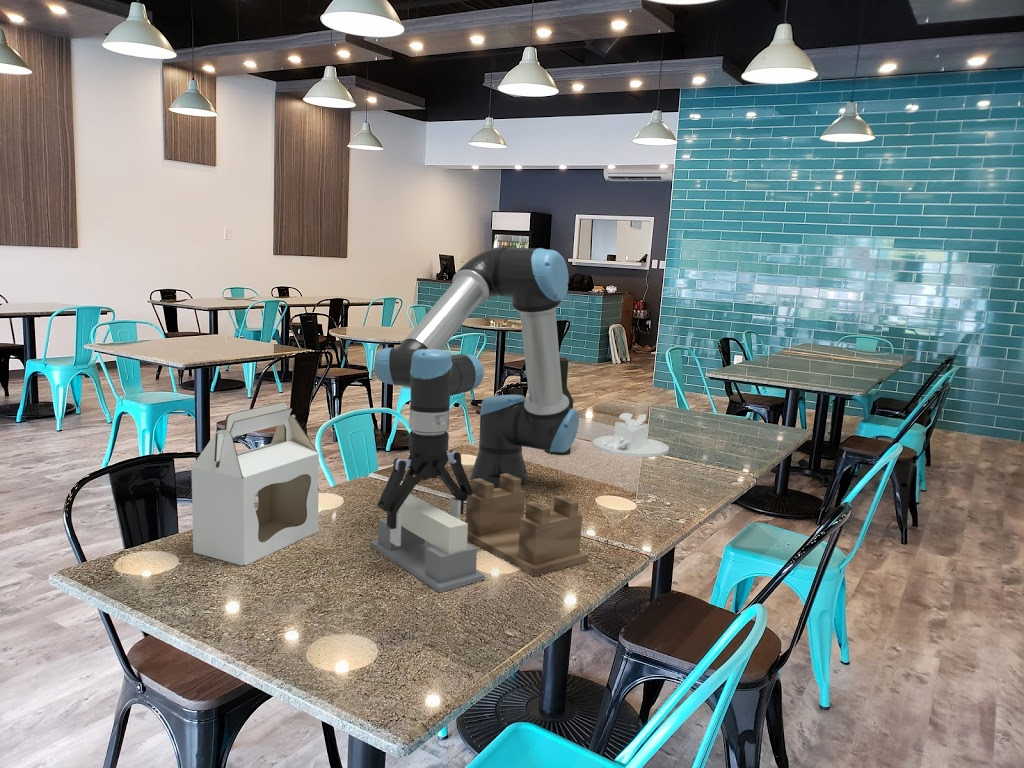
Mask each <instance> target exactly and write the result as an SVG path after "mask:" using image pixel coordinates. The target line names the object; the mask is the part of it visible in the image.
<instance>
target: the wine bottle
mask: <svg viewBox="0 0 1024 768" xmlns="http://www.w3.org/2000/svg"><path fill="white" fill-rule="evenodd" d="M559 358H560V370H561V382H562V393H563V394H564V395H565V396H567V397H568V399H569V406H570V409H572V408H573V409H574V400H575V399H574V398H573V396H572V394H571V392H570V390H569V388H568V373H569V360H568V357H565V356H561V357H560V356H559ZM571 447H572V446H571ZM571 447H570V448H569V449H568V450H567V451H565V452H554V451H553V452H550V451H548V450H544V453H546V452H547V454H549V453H550V454H549V455H552V454H553V455H555V456H566V455H570V453H571ZM553 455H552V456H553Z"/></svg>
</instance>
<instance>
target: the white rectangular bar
mask: <svg viewBox="0 0 1024 768" xmlns="http://www.w3.org/2000/svg"><path fill="white" fill-rule="evenodd" d="M398 511H399V512H401V513H402V514H401V526H402V527H404V528H406V529H407V530H409V531H411V532H412V533H414V534H416V535H417V536H419V537H421V538H423V539H424V540H426V541H428V542H429V543H431V544H433V545H434V546H436V547H438V548H440V549H441V550H443V551H445V552H446V553H448V554H451V553H455V552H459V551H463V550H467V543H468V540H467V532H468V524H467V523H466V521H463V520H461V519H460V520H459V519H457V518H455V517H454V516H452V515H450V513H449V512H448V513H447V512H446V511H444V510H442V509H440V508H438V507H436V506H434V505H432V504H431V503H429V502H426V501H424V500H422V499H420V498H418V497H416V496H415V495H412V494H411V493H410V494H409V495H408V497H407V498H406V500H405V501H404V503H403V504H402V506H401V507H400V508H399V510H398Z"/></svg>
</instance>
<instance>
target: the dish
mask: <svg viewBox="0 0 1024 768" xmlns="http://www.w3.org/2000/svg"><path fill="white" fill-rule="evenodd" d="M633 415H634V414H632V413H630V412H623V413H621V414H620V415H619V417H618V419H619V420H622V421H623V422H622V421H615V424H614V425H615V426H614V434H613V435H604V436H602V435H601V436H598V437H595V438H594V439H593V440H592V444H591V445H592V446H593V448H595V449H596V450H598V451H600V452H604V453H607V454H611V455H616V456H622V457H623V456H624V457H630V458H655V457H662V456H664V455H667V454H668V453H669V452H670V447H669V446H668V445H667V444H666V443H664V442H662V441H659V440H656V439H652V438H648V434H649V433H648V432H649V424H648V423H644V422H645V421H646V420H647V414H646V413H645V414H643V413H642V414H640V415H639V416H638V417H637V419H635V418H632V417H633Z"/></svg>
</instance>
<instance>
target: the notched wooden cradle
mask: <svg viewBox="0 0 1024 768" xmlns="http://www.w3.org/2000/svg"><path fill="white" fill-rule="evenodd" d="M471 481H472V482H471V483H472V484H471V488H472V491H473V493H472V495H468V496H467V497H468V498H467V500H466V506H465V507H466V511H465V515H466V516H465V523H467V524H468V532H467V542H468V541H469V542H470V543H472V544H474V545H476V546H478V547H479V548H481V549H483V550H485V551H486V552H489V554H492V555H494V556H495V557H497V556H498V558H499V557H500V559H501V558H502V559H501V560H503V559H504V560H503V561H505V560H506V561H505V562H507V561H508V562H510V563H511V564H510V563H509V564H510V565H512V564H513V565H512V566H514V565H515V566H514V567H516V566H517V567H516V568H518V567H519V568H521V569H522V571H523V570H524V571H523V572H525V571H526V572H525V573H527V572H528V573H527V574H529V573H530V574H532V575H534V576H537V577H539V576H538V575H541V574H544V575H546V574H545V573H547V574H549V573H548V572H551V573H553V572H552V571H554V572H557V571H556V570H558V569H561V570H563V569H562V568H564V569H566V568H565V567H568V568H570V566H571V567H573V566H574V565H575V566H578V565H581V564H583V563H584V564H585V563H588V562H589V554H587V553H586V552H584V551H581V540H582V539H581V538H582V536H581V534H582V522H583V515H582V514H580V513H579V501H577V500H574V499H572V498H570V497H567V496H564V495H557V496H556V495H555V496H554V498H553V511H551V508H550V507H548V506H545V505H544V504H541V503H539V502H538V501H537V502H536V501H534V500H533V501H528V502H525V499H526V491H525V490H523V489H522V485H521V479H520V478H517V477H515V476H513V475H510V474H508V473H506V474H500V484H499V487H494V484H492V483H490V482H488V481H485V480H483V479H481V478H478V479H471ZM524 513H525V514H524ZM508 562H507V563H508ZM577 564H578V565H577ZM519 568H518V569H519ZM521 569H520V570H521ZM558 571H559V570H558ZM530 574H529V575H530ZM532 575H531V576H532ZM534 576H533V577H534ZM541 576H542V575H541Z"/></svg>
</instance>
